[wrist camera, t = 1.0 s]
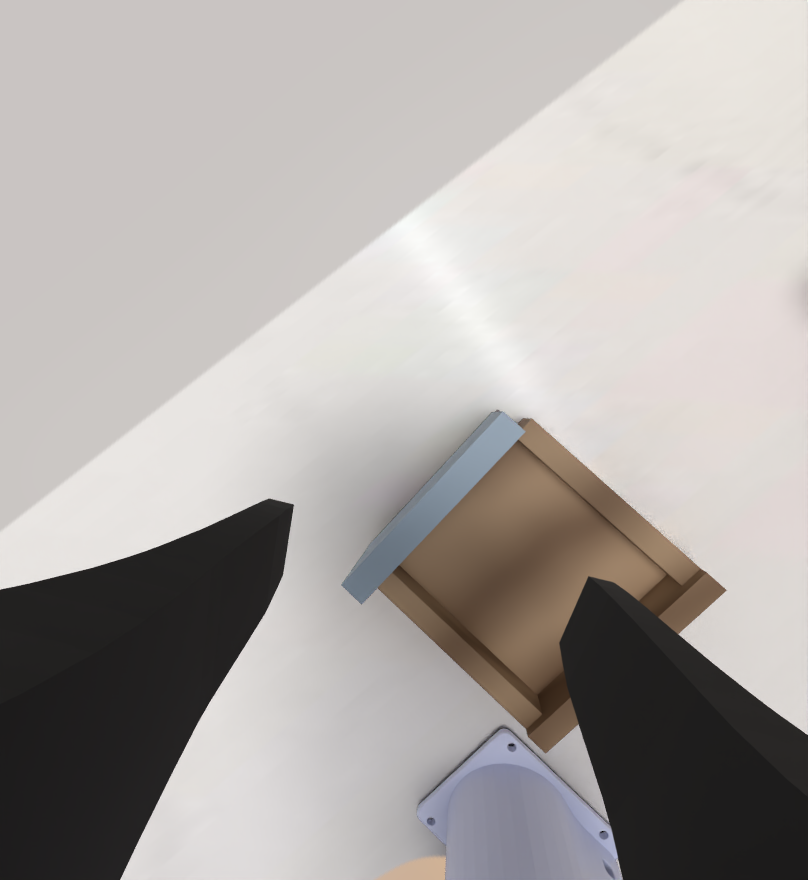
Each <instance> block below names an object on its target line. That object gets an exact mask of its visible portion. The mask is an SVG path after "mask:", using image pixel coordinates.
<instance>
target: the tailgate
mask: <svg viewBox="0 0 808 880" xmlns="http://www.w3.org/2000/svg"><path fill="white" fill-rule="evenodd" d="M525 432H526V431H524V430H523V429H522V428H521V427H520V426H519V425H518V424H517V423H516V422H514V421H513V420H512V419H511V418H510V417H509V416H508V415H507V414H505V413H504V412H503V411H501V412H500V411H499V410H496V411H495V412H492V413H491V414H490V415H489V416H488V417H487V418H486V419H485V420H484V421H483V423H482V424H481V425H480V426H479V427H478V428H477V429H476V430H475V431H474V432H473V433H472V434H471V436H470V437H469V438H468V439H467V440H466V441H465V442H464V443H463V444H462V445H461V446H460V447H459V448H458V450H457V451H456V452H455V453H454V454H453V455H452V456H451V457H450V458H449V459H448V460H447V461H446V462H445V464H444V465H443V466H442V467H441V468H440V469H439V470H438V471H437V472H436V473H435V474H434V475H433V476H432V478H431V479H430V480H429V481H428V482H427V483H426V484H425V485H424V486H423V487H422V488H421V489H420V490H419V492H418V493H417V494H416V495H415V496H414V497H413V498H412V499H411V500H410V501H409V502H408V503H407V505H406V506H405V507H404V508H403V509H402V510H401V511H400V512H399V513H398V514H397V515H396V516H395V517H394V519H393V520H392V521H391V522H390V523H389V524H388V525H387V526H386V527H385V528H384V529H383V530H382V531H381V533H380V534H379V535H378V536H377V537H376V538H375V539H374V540H373V541H372V542H371V543H370V545H369V546H368V548H367V549H366V551H365V552H364V553H363V555H362V556H361V558H360V559H359V560H358V562H357V563H356V565H355V566H354V568H353V569H352V570H351V572H350V573H349V575H348V576H347V577H346V579H345V580H344V582H343V583H342V586H343V587H344V588H345V589H346V590H347V591H348V592H349V593H350V594H351V595H352V596H353V597H354V598H355V599H356V600H357V601H359V602H360V603H361V604H363V603H364V601H365V600H366V599H367V598H368V597H369V596H370V595H371V594H372V593H373V592H374V591H375V590H376V589H377V588H378V587H379V586H380V585H381V584H382V582H383V581H384V580H385V579H386V578H387V577H388V576H389V575H390V574H391V573H392V572H393V571H394V570H395V569H396V568H397V567H398V566H399V565H400V564H401V562H402V561H403V560H404V559H405V558H406V557H407V556H408V555H409V554H410V553H411V552H412V551H413V550H414V549H415V548H416V547H417V546H418V545H419V544H420V542H421V541H422V540H423V539H424V538H425V537H426V536H427V535H428V534H429V533H430V532H431V531H432V530H433V529H434V528H435V527H436V526H437V525H438V524H439V522H440V521H441V520H442V519H443V518H444V517H445V516H446V515H447V514H448V513H449V512H450V511H451V510H452V509H453V508H454V507H455V506H456V505H457V503H458V502H459V501H460V500H461V499H462V498H463V497H464V496H465V495H466V494H467V493H468V492H469V491H470V490H471V489H472V488H473V487H474V486H475V485H476V483H477V482H478V481H479V480H480V479H481V478H482V477H483V476H484V475H485V474H486V473H487V472H488V471H489V470H490V469H491V468H492V467H493V466H494V465H495V463H496V462H497V461H498V460H499V459H500V458H501V457H502V456H503V455H504V454H505V453H506V452H507V451H508V450H509V449H510V448H511V447H512V446H513V445H514V443H515V442H516V441H517V440H518V439H519V438H520V437H521V436H522V435H523V434H524V433H525Z"/></svg>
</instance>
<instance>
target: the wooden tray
mask: <svg viewBox="0 0 808 880" xmlns="http://www.w3.org/2000/svg"><path fill="white" fill-rule="evenodd" d="M518 425H519V426H520V427H521V428H522V429H523V430H524V431H526V432H525V433H524V434H523V435H522V436H521V437H520V438H519V439H518V440H517V441H516V442H515V443H514V445H513V446H512V447H511V448H510V449H509V450H508V451H507V452H506V453H505V454H504V455H503V456H502V457H501V458H500V459H499V460H498V461H497V462H496V463H495V465H494V466H493V467H492V468H491V469H490V470H489V471H488V472H487V473H486V474H485V475H484V476H483V477H482V478H481V479H480V480H479V481H478V482H477V483H476V485H475V486H474V487H473V488H472V489H471V490H470V491H469V492H468V493H467V494H466V495H465V496H464V497H463V498H462V499H461V500H460V501H459V502H458V503H457V505H456V506H455V507H454V508H453V509H452V510H451V511H450V512H449V513H448V514H447V515H446V516H445V517H444V518H443V519H442V520H441V521H440V522H439V524H438V525H437V526H436V527H435V528H434V529H433V530H432V531H431V532H430V533H429V534H428V535H427V536H426V537H425V538H424V539H423V540H422V541H421V542H420V544H419V545H418V546H417V547H416V548H415V549H414V550H413V551H412V552H411V553H410V554H409V555H408V556H407V557H406V558H405V559H404V560H403V561H402V562H401V564H400V565H399V566H398V567H397V568H396V569H395V570H394V571H393V572H392V573H391V574H390V575H389V576H388V577H387V578H386V579H385V580H384V581H383V582H382V584H381V585H380V586H379V587H378V589H379V590H380V591H381V592H382V593H383V594H384V595H385V596H386V597H387V598H389V599H390V600H391V601H392V602H393V603H394V604H395V605H396V606H397V607H398V608H399V609H400V610H401V611H402V612H403V613H404V614H405V615H406V616H408V617H409V618H410V619H411V620H412V621H413V622H414V623H415V624H416V625H417V626H418V627H419V628H420V629H421V630H422V631H423V632H424V633H425V634H426V635H428V636H429V637H430V638H431V639H432V640H433V641H434V642H435V643H436V644H437V645H438V646H439V647H440V648H441V649H442V650H443V651H444V652H445V653H447V654H448V655H449V656H450V657H451V658H452V659H453V660H454V661H455V662H456V663H457V664H458V665H459V666H460V667H461V668H462V669H463V670H464V671H465V672H467V673H468V674H469V675H470V676H471V677H472V678H473V679H474V680H475V681H476V682H477V683H478V684H479V685H480V686H481V687H482V688H483V689H484V690H486V691H487V692H488V693H489V694H490V695H491V696H492V697H493V698H494V699H495V700H496V701H497V702H498V703H499V704H500V705H501V706H502V707H503V708H504V709H506V710H507V711H508V712H509V713H510V714H511V715H512V716H513V717H514V718H515V719H516V720H517V721H518V722H519V723H520V724H521V725H522V726H523V727H524V728H526V730H527V735H528V737H529V738H530V739H531V740H532V741H533V742H534V743H535V744H536V745H537V746H538V747H539V748H540V749H542V750H543V751H544V752H545V753H547V752H548V751H549V750H550V749H551V748H552V747H553V746H555V745H556V744H557V743H558V742H559V741H560V740H561V739H562V738H563V737H565V736H566V735H567V734H568V733H569V732H570V731H571V730H572V729H573V728H575V727H576V726H577V725H578V724H579V723H578V720H577V717H576V714H575V711H574V707H573V704H572V701H571V698H570V695H569V691H568V688H567V684H566V679H565V674H564V669H563V663H562V657H561V651H560V645H559V642H560V640H561V637H562V635H563V633H564V631H565V628H566V626H567V624H568V621H569V619H570V617H571V615H572V612H573V610H574V608H575V606H576V603H577V601H578V599H579V596H580V594H581V592H582V590H583V587H584V585H585V583H586V581H587V578H588V576H590V577H594V578H598V579H602V580H607V581H611V582H614V583H616V584H617V585H618V586H620V587H621V588H623V589H624V590H625V591H627V592H628V593H629V594H631V595H632V596H633V597H634V598H636V599H637V600H638V601H639V602H640V603H642V604H643V605H644V606H645V607H646V608H648V609H649V610H650V611H651V612H652V613H654V614H655V615H656V616H657V617H658V618H659V619H661V620H662V621H663V622H664V623H665V624H667V625H668V626H669V627H670V628H671V629H672V630H674V631H675V632H676V633H677V634H679V633H680V632H681V631H682V630H683V629H684V628H685V627H687V626H688V625H689V624H690V623H691V622H692V621H693V620H694V619H695V618H697V617H698V616H699V615H700V614H701V613H702V612H703V611H704V610H705V609H707V608H708V607H709V606H710V605H711V604H712V603H713V602H714V601H715V600H717V599H718V598H719V597H720V596H721V595H722V594H723V593H724V592H725V591H727V590H726V589H725V588H723V587H722V586H721V585H720V584H719V583H718V582H717V581H716V580H714V579H713V578H712V577H711V576H710V575H709V574H708V573H707V572H705V571H703V570H702V569H700V568H699V567H698V566H697V565H696V564H695V563H694V562H693V561H691V560H690V559H689V558H688V557H687V556H686V555H685V554H684V553H682V552H681V551H680V550H679V549H678V548H677V547H676V546H675V545H673V544H672V543H671V542H670V541H669V540H668V539H667V538H666V537H664V536H663V535H662V534H661V533H660V532H659V531H658V530H657V529H655V528H654V527H653V526H652V525H651V524H650V523H649V522H648V521H646V520H645V519H644V518H643V517H642V516H641V515H640V514H639V513H637V512H636V511H635V510H634V509H633V508H632V507H631V506H630V505H628V504H627V503H626V502H625V501H624V500H623V499H622V498H621V497H619V496H618V495H617V494H616V493H615V492H614V491H613V490H612V489H610V488H609V487H608V486H607V485H606V484H605V483H604V482H603V481H601V480H600V479H599V478H598V477H597V476H596V475H595V474H594V473H592V472H591V471H590V470H589V469H588V468H587V467H586V466H585V465H583V464H582V463H581V462H580V461H579V460H578V459H577V458H576V457H574V456H573V455H572V454H571V453H570V452H569V451H568V450H567V449H565V448H564V447H563V446H562V445H561V444H560V443H559V442H558V441H556V440H555V439H554V438H553V437H552V436H551V435H550V434H549V433H547V432H546V431H545V430H544V429H543V428H542V427H541V426H540V425H539V424H537V423H536V422H535V421H534V420H533V419H526V418H523V419H522V420H521V421H520V422H519V423H518Z"/></svg>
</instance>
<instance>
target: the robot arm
mask: <svg viewBox="0 0 808 880" xmlns="http://www.w3.org/2000/svg"><path fill="white" fill-rule="evenodd" d="M293 507H294V505H293V504H289V503H285V502H281V501H277V500H273V499H267V500H265V501H262V502H260V503H258V504H255V505H253V506H251V507H249V508H247V509H245V510H243V511H240V512H238V513H236V514H234V515H232V516H230V517H228V518H225V519H223V520H221V521H219V522H217V523H214V524H212V525H210V526H208V527H206V528H203V529H201V530H199V531H196V532H194V533H191V534H189V535H186V536H184V537H181V538H179V539H176V540H174V541H171V542H169V543H166V544H164V545H161V546H159V547H156V548H153V549H150V550H148V551H145V552H142V553H139V554H136V555H133V556H130V557H127V558H124V559H120V560H117V561H114V562H111V563H107V564H104V565H101V566H97V567H94V568H90V569H86V570H82V571H78V572H74V573H70V574H66V575H62V576H58V577H54V578H50V579H46V580H42V581H38V582H34V583H30V584H25V585H21V586H16V587H11V588H6V589H1V590H0V880H120V879H121V877H122V875H123V872H124V870H125V868H126V866H127V864H128V862H129V860H130V858H131V856H132V854H133V851H134V849H135V847H136V845H137V843H138V841H139V839H140V837H141V835H142V833H143V831H144V829H145V827H146V825H147V823H148V821H149V819H150V817H151V815H152V813H153V811H154V809H155V806H156V804H157V802H158V800H159V798H160V796H161V794H162V792H163V790H164V788H165V786H166V784H167V782H168V780H169V778H170V776H171V774H172V772H173V770H174V768H175V766H176V764H177V762H178V760H179V758H180V757H181V755H182V753H183V751H184V749H185V747H186V745H187V743H188V741H189V739H190V737H191V735H192V733H193V731H194V729H195V727H196V725H197V723H198V722H199V720H200V718H201V716H202V715H203V713H204V711H205V709H206V708H207V706H208V704H209V702H210V701H211V699H212V697H213V696H214V694H215V693H216V691H217V690H218V688H219V686H220V685H221V683H222V682H223V680H224V678H225V677H226V675H227V674H228V672H229V670H230V669H231V667H232V666H233V664H234V662H235V661H236V659H237V658H238V656H239V654H240V653H241V651H242V650H243V648H244V647H245V645H246V643H247V642H248V640H249V638H250V637H251V635H252V634H253V632H254V630H255V629H256V627H257V626H258V624H259V622H260V621H261V619H262V617H263V616H264V614H265V612H266V610H267V608H268V606H269V604H270V602H271V600H272V598H273V596H274V594H275V591H276V589H277V587H278V585H279V583H280V580H281V578H282V576H283V571H284V565H285V558H286V552H287V545H288V539H289V533H290V526H291V520H292V513H293ZM559 645H560V651H561V657H562V663H563V669H564V674H565V679H566V684H567V688H568V691H569V695H570V698H571V701H572V704H573V707H574V711H575V714H576V717H577V720H578V723H579V726H580V730H581V733H582V736H583V739H584V742H585V745H586V748H587V751H588V754H589V757H590V760H591V763H592V767H593V770H594V773H595V776H596V779H597V782H598V785H599V788H600V791H601V794H602V797H603V801H604V804H605V808H606V811H607V815H608V818H609V822H610V825H609V824H608V823H606V822H605V821H604V820H603V819H602V818H601V817H600V816H599V815H598V814H597V813H596V812H595V811H594V810H593V809H592V808H591V807H590V806H589V805H588V804H587V803H585V802H584V801H583V800H582V799H581V798H580V797H579V796H578V795H577V794H576V793H575V792H574V791H573V790H572V789H571V788H570V787H569V786H568V785H567V784H565V783H564V782H563V781H562V780H561V779H560V778H559V777H558V776H557V775H556V774H555V773H554V772H553V771H552V770H551V769H550V768H549V767H548V766H547V765H546V764H544V763H543V762H542V761H541V760H540V759H539V758H538V757H537V756H536V755H535V754H534V753H533V752H532V751H531V750H530V749H529V748H528V747H527V746H526V745H525V744H523V743H522V742H521V741H520V740H519V739H518V738H517V737H516V736H515V735H514V734H513V733H512V732H511V731H509V730H508V729H501V730H499V731H498V732H497V733H495V734H494V735H493V736H492V737H491V738H490V739H489V740H488V741H487V742H486V743H485V744H484V745H483V746H482V747H480V748H479V749H478V750H477V751H476V752H475V753H474V754H473V755H472V756H471V757H470V758H469V759H468V760H466V761H465V762H464V763H463V764H462V765H461V766H460V767H459V768H458V769H457V770H456V771H455V772H454V773H453V774H451V775H450V776H449V777H448V778H447V779H446V780H445V781H444V782H443V783H442V784H441V785H440V786H439V787H437V788H436V789H435V790H434V791H433V792H432V793H431V794H430V795H429V796H428V797H427V798H426V799H425V800H424V801H422V802H421V803H420V804H419V806H418V809H417V817H418V818H419V820H420V821H421V822H422V823H423V824H424V825H425V826H426V827H427V828H428V829H429V830H430V831H431V832H432V833H433V834H434V835H435V836H436V837H437V838H438V839H439V840H440V841H441V842H442V843H443V844H445V845H446V872H445V880H808V735H807V734H805V733H804V732H802V731H801V730H800V729H798V728H797V727H795V726H794V725H793V724H791V723H790V722H788V721H787V720H786V719H784V718H783V717H781V716H780V715H779V714H777V713H776V712H775V711H773V710H772V709H771V708H769V707H768V706H767V705H765V704H764V703H763V702H761V701H760V700H759V699H757V698H756V697H755V696H753V695H752V694H751V693H750V692H748V691H747V690H746V689H744V688H743V687H742V686H741V685H739V684H738V683H737V682H736V681H734V680H733V679H732V678H730V677H729V676H728V675H727V674H725V673H724V672H723V671H722V670H720V669H719V668H718V667H717V666H715V665H714V664H713V663H712V662H711V661H709V660H708V659H707V658H706V657H704V656H703V655H702V654H701V653H700V652H698V651H697V650H696V649H695V648H694V647H692V646H691V645H690V644H689V643H688V642H687V641H685V640H684V639H683V638H682V637H681V636H679V635H678V634H677V633H676V632H675V631H674V630H672V629H671V628H670V627H669V626H668V625H667V624H665V623H664V622H663V621H662V620H661V619H659V618H658V617H657V616H656V615H655V614H654V613H652V612H651V611H650V610H649V609H648V608H646V607H645V606H644V605H643V604H642V603H640V602H639V601H638V600H637V599H636V598H634V597H633V596H632V595H631V594H629V593H628V592H627V591H625V590H624V589H623V588H621V587H620V586H618V585H617V584H616V583H614V582H611V581H607V580H602V579H598V578H594V577H590V576H588V578H587V581H586V583H585V585H584V587H583V590H582V592H581V594H580V596H579V599H578V601H577V603H576V606H575V608H574V610H573V612H572V615H571V617H570V619H569V621H568V624H567V626H566V628H565V631H564V633H563V635H562V637H561V640H560V642H559ZM510 743H513V744H515V745H514V746H509V745H508V744H510ZM430 817H431V818H434V819H429V818H430ZM601 831H605V832H603V833H600V832H601ZM616 859H618V860H619V864H620V869H621V873H622V876H621V874H620V871H619V868H618V865H617V862H616ZM622 877H623V879H622Z"/></svg>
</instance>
